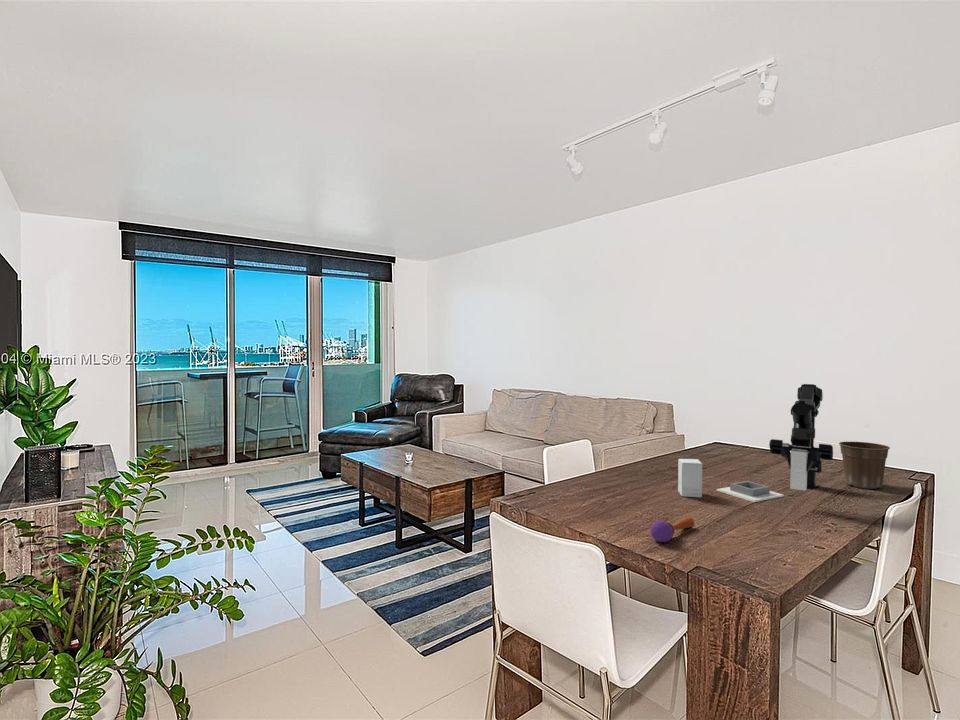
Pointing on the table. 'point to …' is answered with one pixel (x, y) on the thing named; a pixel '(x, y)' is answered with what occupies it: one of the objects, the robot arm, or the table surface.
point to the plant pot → (864, 464)
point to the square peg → (798, 469)
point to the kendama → (669, 529)
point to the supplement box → (690, 477)
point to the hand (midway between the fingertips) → (798, 469)
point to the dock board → (750, 491)
